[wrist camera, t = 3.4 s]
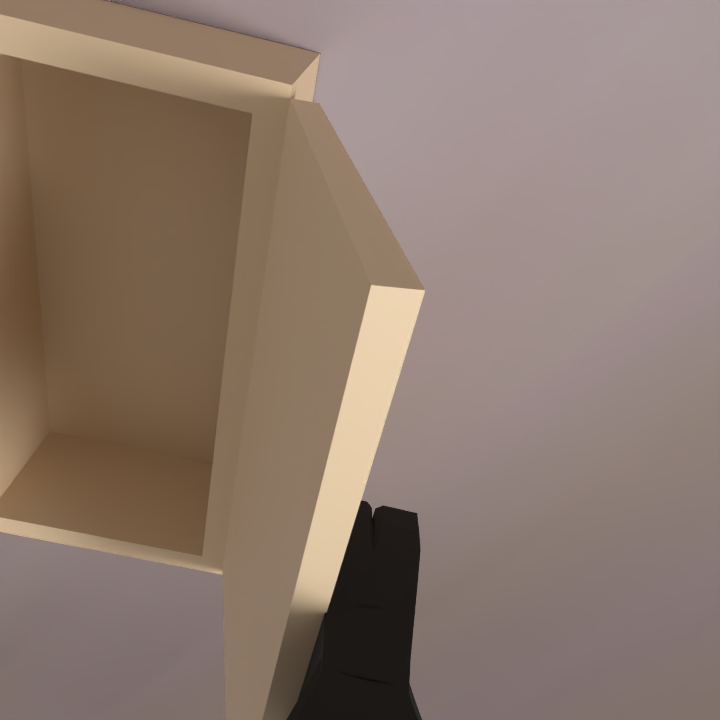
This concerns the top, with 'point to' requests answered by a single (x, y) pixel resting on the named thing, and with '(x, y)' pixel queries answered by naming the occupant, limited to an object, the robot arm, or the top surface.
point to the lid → (309, 411)
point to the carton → (132, 269)
